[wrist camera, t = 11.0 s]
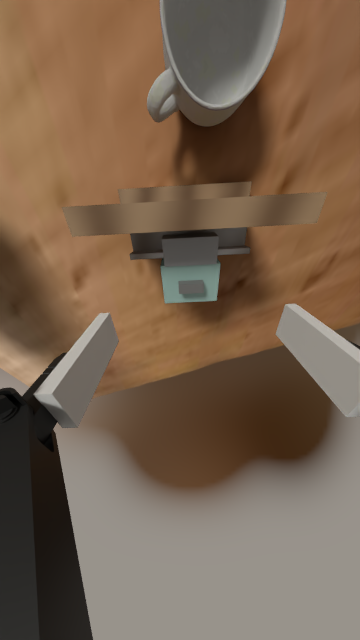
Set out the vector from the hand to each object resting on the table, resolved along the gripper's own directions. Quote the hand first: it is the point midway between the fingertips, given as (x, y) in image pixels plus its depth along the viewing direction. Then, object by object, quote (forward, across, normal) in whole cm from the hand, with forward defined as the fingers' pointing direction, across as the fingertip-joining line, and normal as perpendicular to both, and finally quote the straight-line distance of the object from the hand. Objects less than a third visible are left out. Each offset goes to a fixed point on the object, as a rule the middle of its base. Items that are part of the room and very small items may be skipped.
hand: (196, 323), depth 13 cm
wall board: (+23, 0, +7) cm, 24 cm away
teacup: (+23, +2, +21) cm, 31 cm away
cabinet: (+18, 0, +2) cm, 18 cm away
